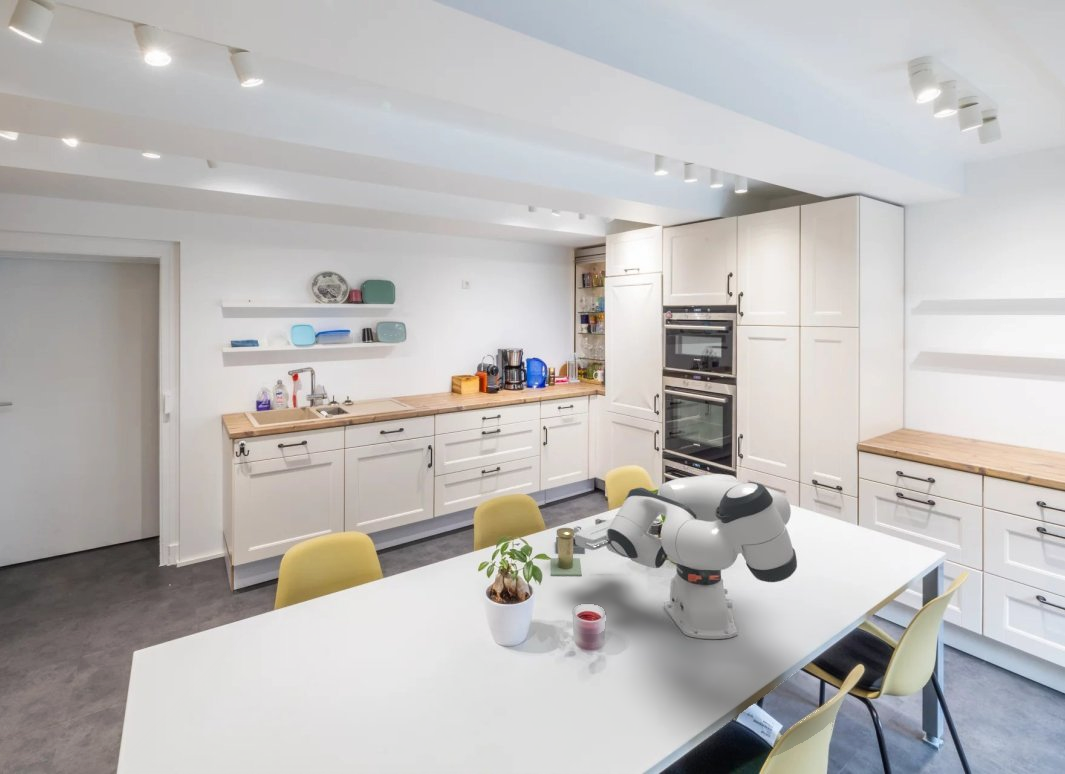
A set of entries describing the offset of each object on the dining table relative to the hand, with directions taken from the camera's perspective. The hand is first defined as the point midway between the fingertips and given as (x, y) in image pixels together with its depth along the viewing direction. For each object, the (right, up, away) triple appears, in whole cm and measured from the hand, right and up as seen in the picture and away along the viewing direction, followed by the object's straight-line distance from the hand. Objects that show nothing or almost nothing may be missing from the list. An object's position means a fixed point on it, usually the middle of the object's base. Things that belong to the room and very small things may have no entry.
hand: (586, 525), depth 172 cm
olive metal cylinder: (-6, -16, +11) cm, 21 cm away
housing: (-3, -15, +26) cm, 30 cm away
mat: (-6, -17, +11) cm, 21 cm away
